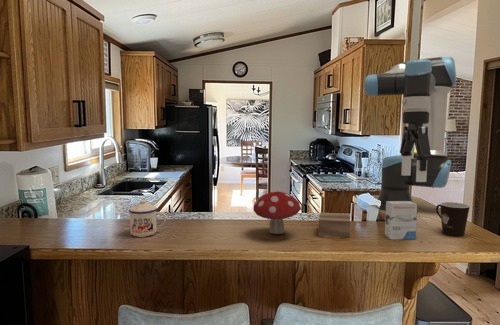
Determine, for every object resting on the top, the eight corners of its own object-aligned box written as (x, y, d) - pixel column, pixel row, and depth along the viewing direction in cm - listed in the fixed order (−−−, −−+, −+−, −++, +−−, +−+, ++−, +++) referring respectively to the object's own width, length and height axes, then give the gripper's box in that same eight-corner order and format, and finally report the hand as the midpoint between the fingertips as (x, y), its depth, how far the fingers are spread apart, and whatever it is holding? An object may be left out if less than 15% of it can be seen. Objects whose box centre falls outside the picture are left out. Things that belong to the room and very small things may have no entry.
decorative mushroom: (310, 237, 120) (310, 192, 118) (270, 245, 111) (270, 197, 110) (281, 225, 133) (281, 185, 132) (244, 232, 125) (243, 189, 123)
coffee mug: (472, 238, 117) (474, 208, 116) (443, 237, 119) (444, 207, 118) (459, 228, 129) (460, 200, 128) (432, 227, 130) (434, 199, 129)
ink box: (409, 235, 122) (411, 200, 120) (416, 239, 117) (417, 203, 115) (384, 235, 122) (385, 200, 120) (389, 239, 117) (391, 203, 115)
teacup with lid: (128, 238, 118) (126, 203, 117) (131, 231, 127) (130, 198, 126) (166, 236, 121) (165, 202, 120) (166, 228, 130) (165, 196, 128)
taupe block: (320, 228, 130) (320, 212, 129) (349, 230, 127) (349, 214, 127) (318, 237, 120) (318, 219, 120) (349, 239, 118) (350, 221, 117)
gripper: (391, 112, 126) (389, 173, 128) (418, 109, 101) (414, 184, 103) (414, 112, 125) (411, 173, 127) (446, 109, 101) (442, 185, 103)
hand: (413, 178), depth 115 cm, fingers open, 13 cm apart
